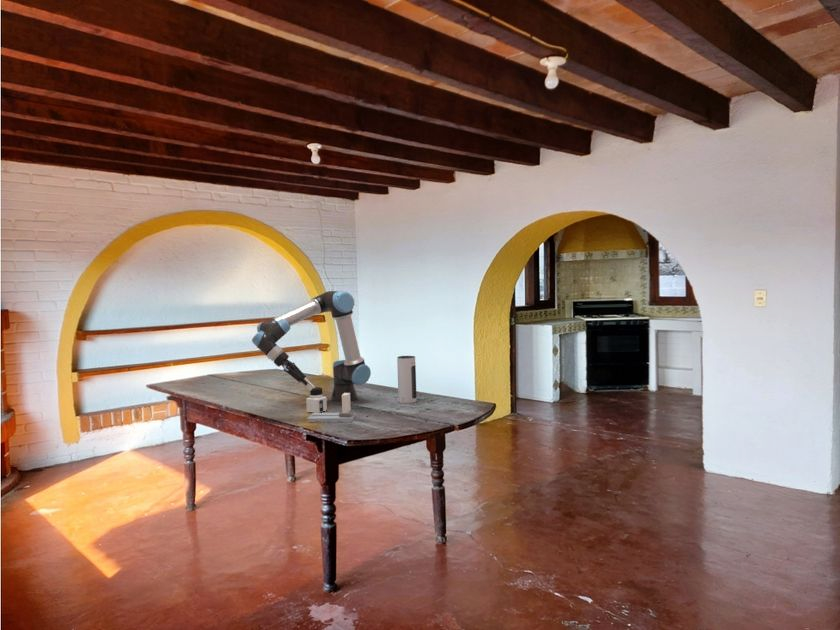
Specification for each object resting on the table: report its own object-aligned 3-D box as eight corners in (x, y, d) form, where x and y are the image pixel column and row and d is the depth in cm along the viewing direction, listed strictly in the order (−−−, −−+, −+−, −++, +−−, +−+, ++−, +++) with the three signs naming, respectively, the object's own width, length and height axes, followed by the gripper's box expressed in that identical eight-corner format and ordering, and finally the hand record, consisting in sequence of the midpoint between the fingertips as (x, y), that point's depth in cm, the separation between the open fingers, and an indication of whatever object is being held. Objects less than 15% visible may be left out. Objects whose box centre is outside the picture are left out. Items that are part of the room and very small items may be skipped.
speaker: (409, 404, 325) (408, 357, 324) (394, 402, 331) (393, 356, 329) (420, 401, 334) (419, 355, 332) (405, 399, 340) (404, 354, 338)
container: (327, 411, 315) (326, 386, 314) (317, 414, 308) (316, 389, 307) (316, 409, 319) (315, 385, 318) (306, 412, 312) (305, 388, 311)
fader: (342, 413, 299) (341, 392, 298) (354, 412, 299) (353, 392, 298) (338, 416, 291) (338, 395, 290) (350, 416, 291) (350, 395, 290)
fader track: (313, 416, 302) (313, 412, 302) (355, 416, 301) (355, 412, 301) (306, 422, 291) (306, 418, 290) (350, 422, 289) (350, 418, 289)
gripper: (277, 359, 303) (310, 391, 303) (269, 363, 290) (304, 396, 290) (287, 349, 303) (320, 380, 303) (279, 352, 290) (314, 385, 290)
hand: (312, 388), depth 297 cm, fingers closed
